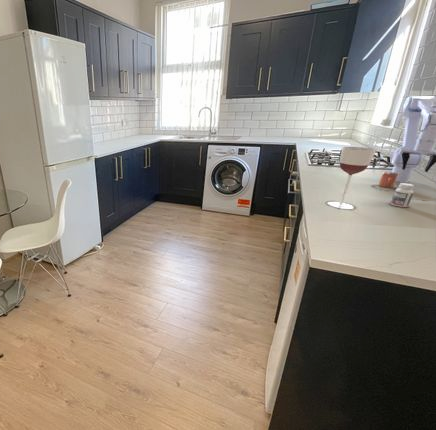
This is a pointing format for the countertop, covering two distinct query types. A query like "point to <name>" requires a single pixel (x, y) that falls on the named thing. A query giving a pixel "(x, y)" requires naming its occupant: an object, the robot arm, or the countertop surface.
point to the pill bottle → (403, 195)
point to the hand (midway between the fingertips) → (414, 170)
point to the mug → (388, 179)
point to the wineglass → (353, 167)
